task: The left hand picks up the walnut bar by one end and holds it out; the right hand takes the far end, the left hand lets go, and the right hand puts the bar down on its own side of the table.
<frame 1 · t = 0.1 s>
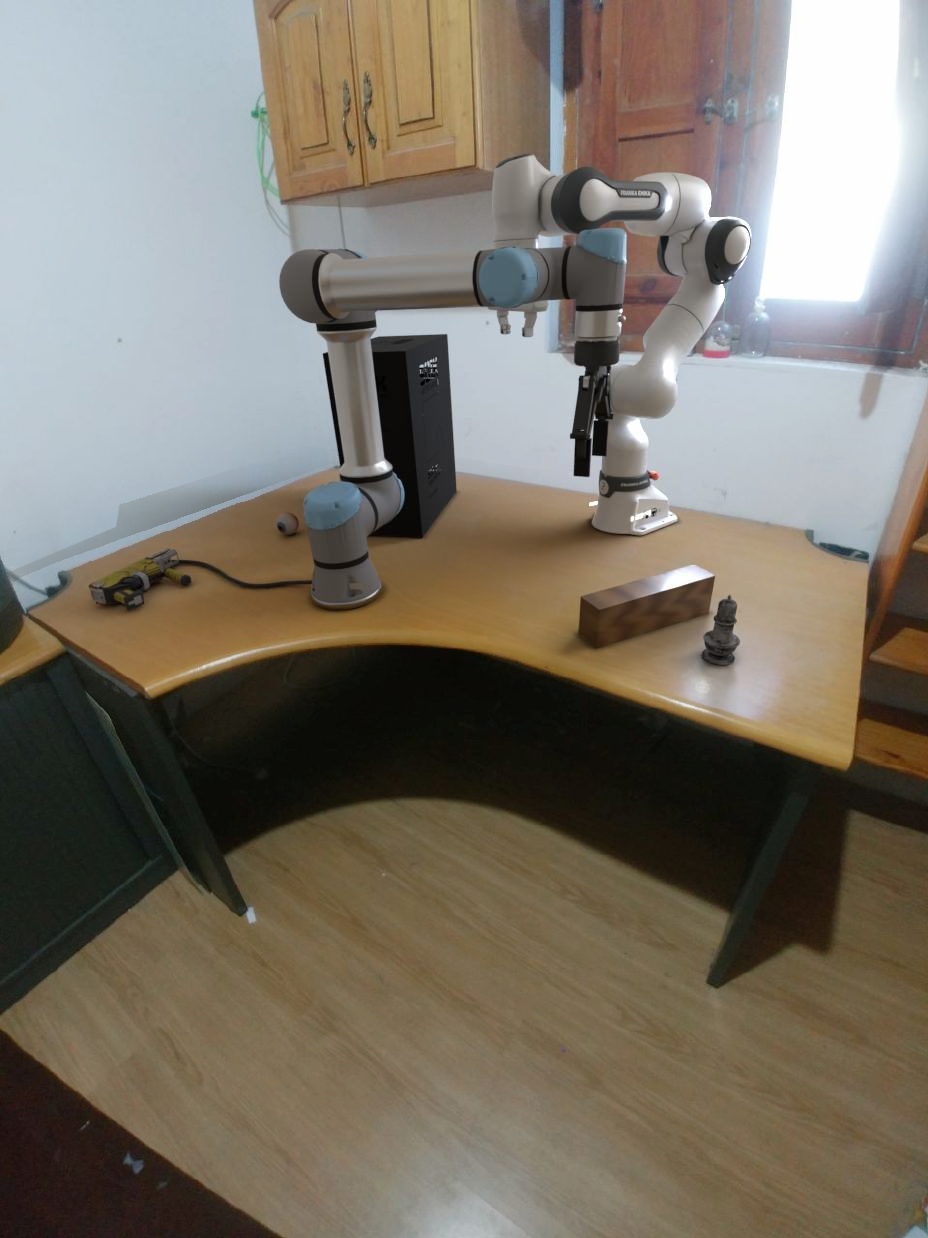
left hand: (590, 465, 111), 28 cm above the table, tool pointing down, fingers open, 13 cm apart
right hand: (516, 335, 125), 48 cm above the table, tool pointing down, fingers open, 8 cm apart
eyeball: (289, 534, 165), on the table
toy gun: (157, 587, 140), on the table
bar: (644, 623, 115), on the table
black computer tower: (407, 511, 176), on the table
dark grey tiered figure: (717, 657, 104), on the table
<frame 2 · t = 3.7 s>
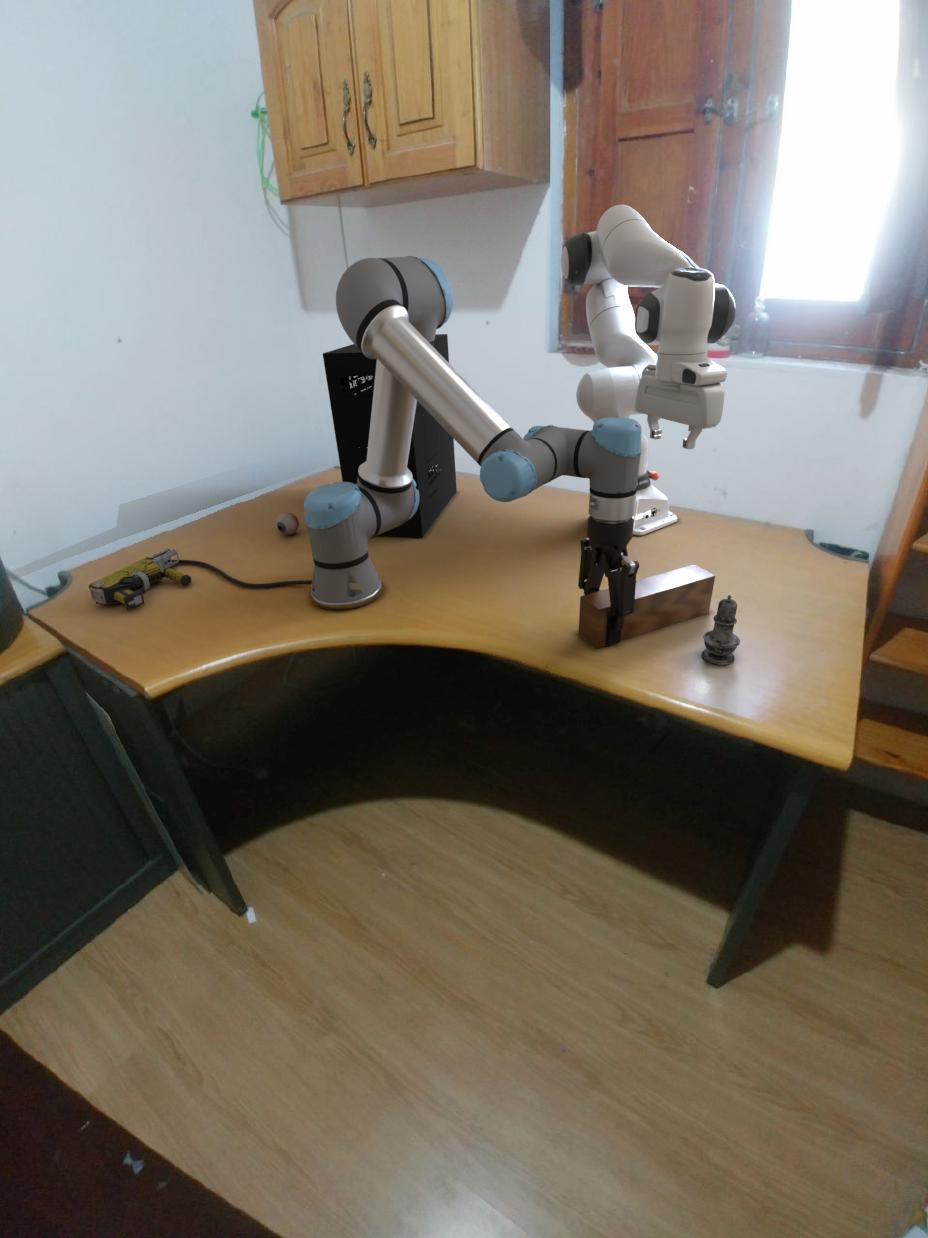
left hand: (602, 634, 112), 0 cm above the table, tool pointing down, fingers closed on bar, 6 cm apart
right hand: (671, 443, 120), 28 cm above the table, tool pointing down, fingers open, 8 cm apart
bar: (644, 623, 115), on the table, touching left hand
everything else where it was.
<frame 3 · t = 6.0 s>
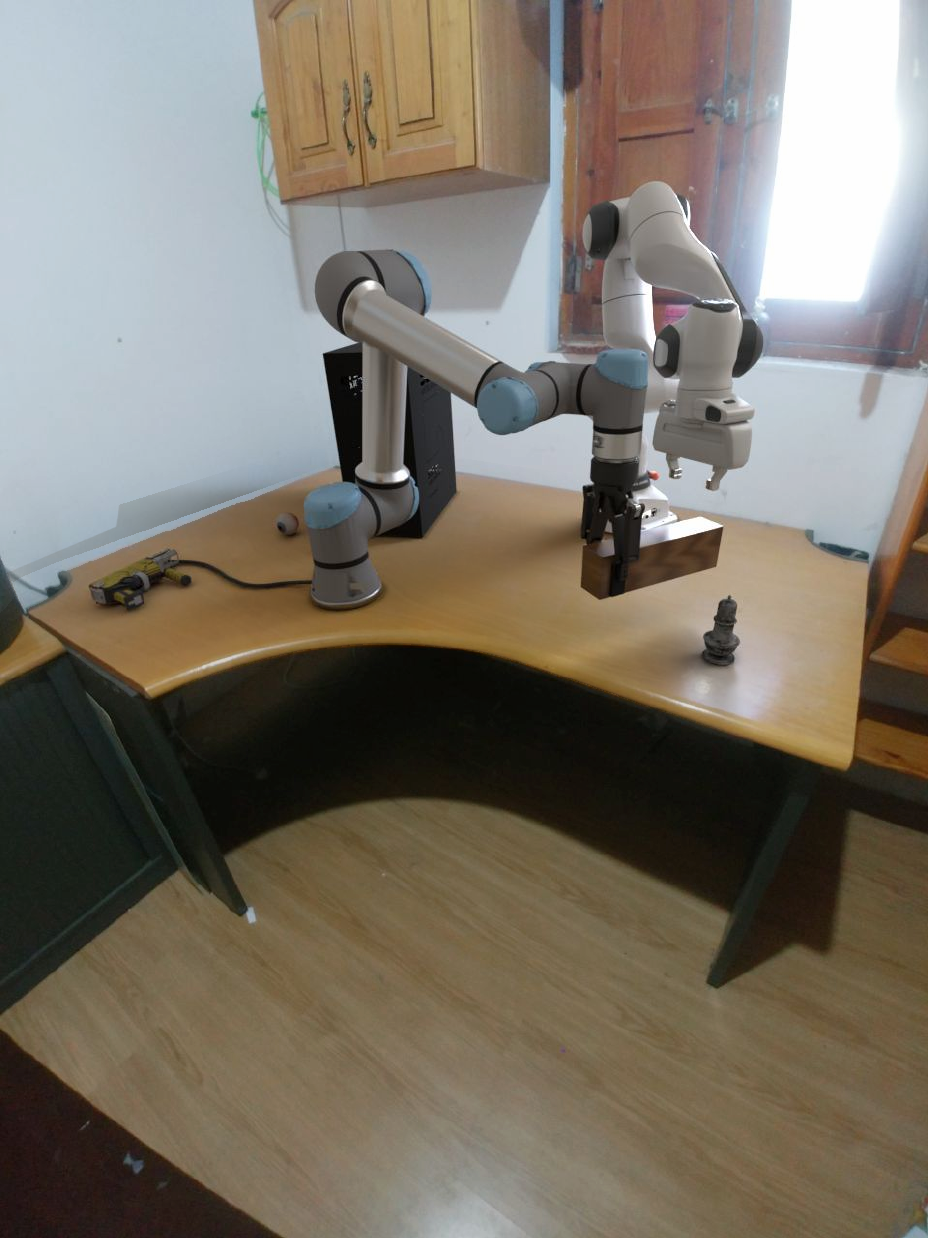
left hand: (605, 586, 107), 10 cm above the table, tool pointing down, fingers closed on bar, 6 cm apart
right hand: (692, 483, 111), 24 cm above the table, tool pointing down, fingers open, 8 cm apart
bar: (649, 576, 110), point 10 cm above the table, touching left hand
everything else where it was.
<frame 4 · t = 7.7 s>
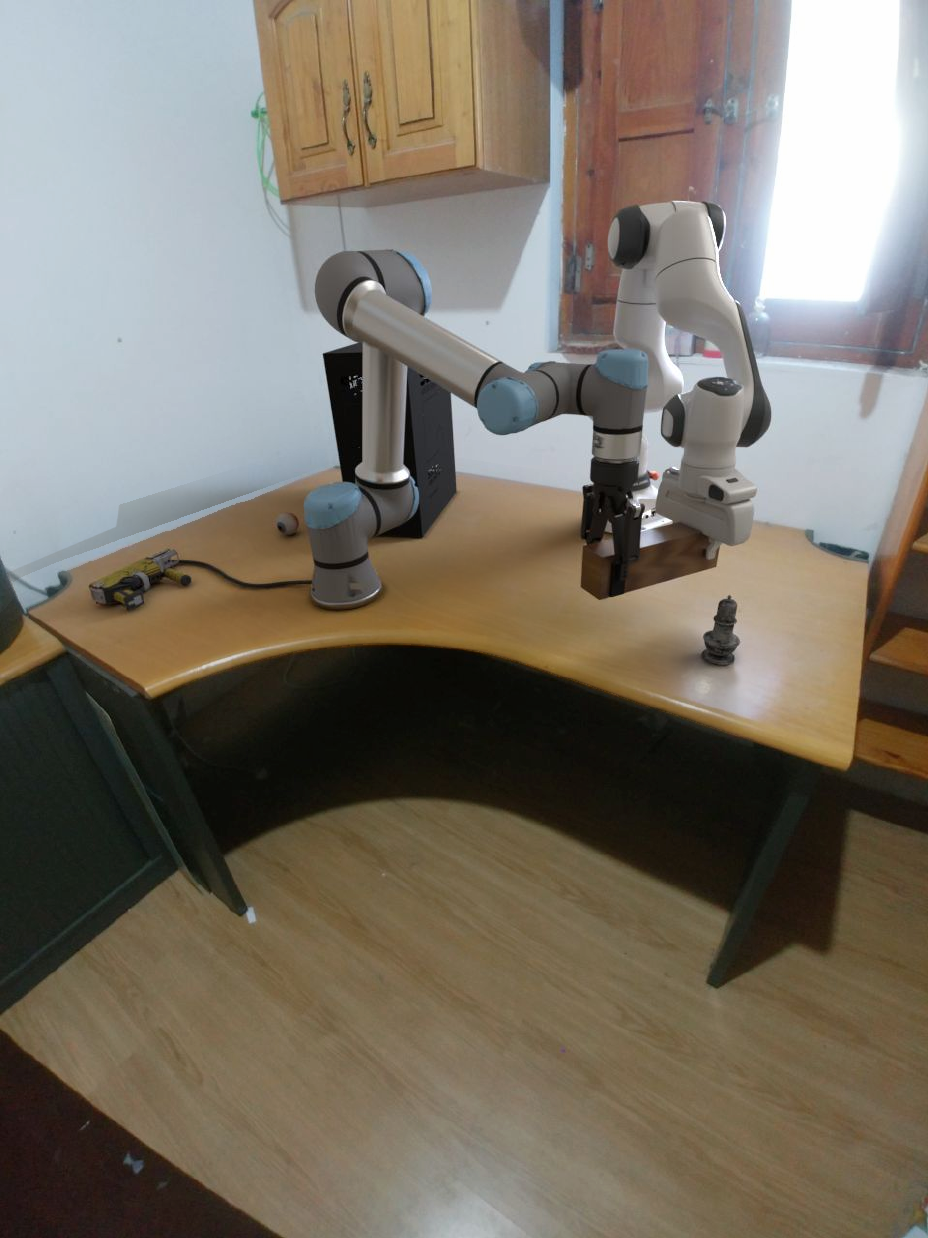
left hand: (605, 587, 107), 10 cm above the table, tool pointing down, fingers closed on bar, 6 cm apart
right hand: (694, 551, 112), 13 cm above the table, tool pointing down, fingers closed on bar, 6 cm apart
bar: (649, 576, 110), point 10 cm above the table, touching right hand, left hand
everything else where it was.
when the left hand's fingers open (10 cm above the table, at t = 8.7 s): bar stays where it is, held by the right hand.
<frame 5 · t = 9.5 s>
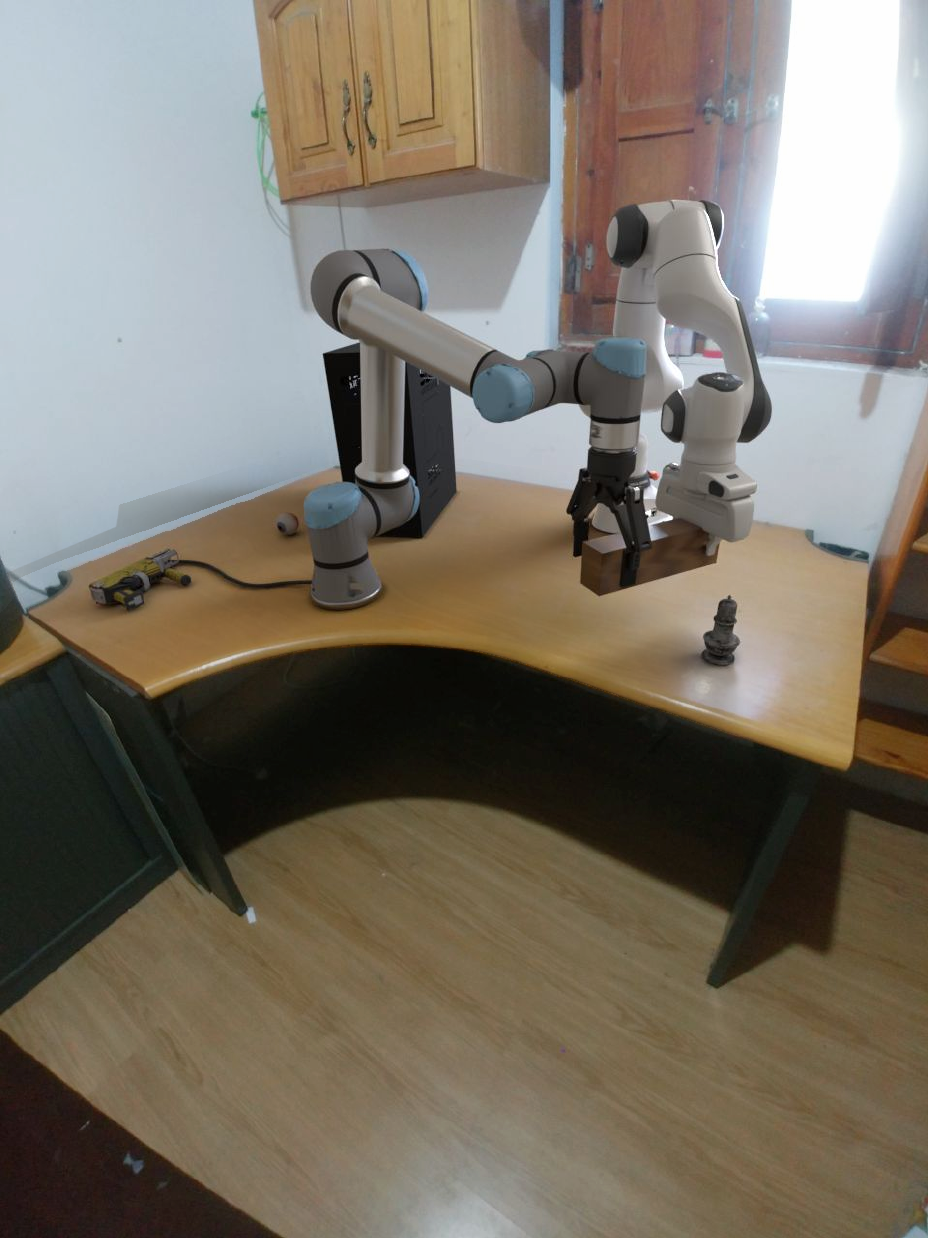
left hand: (602, 569, 105), 14 cm above the table, tool pointing down, fingers open, 13 cm apart
right hand: (694, 547, 112), 13 cm above the table, tool pointing down, fingers closed on bar, 6 cm apart
bar: (649, 572, 110), point 11 cm above the table, touching right hand
everything else where it was.
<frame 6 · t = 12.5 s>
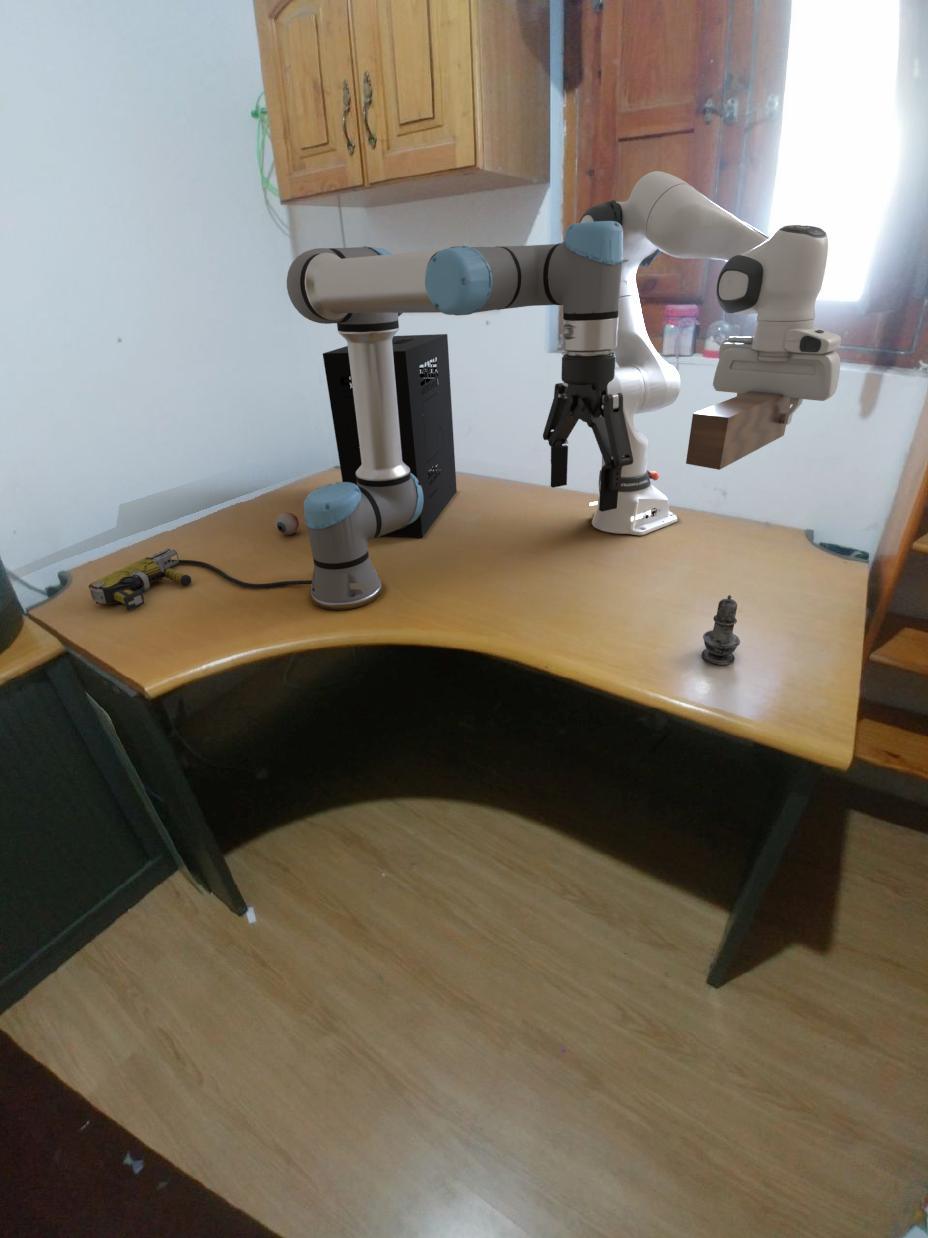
left hand: (581, 497, 96), 28 cm above the table, tool pointing down, fingers open, 13 cm apart
right hand: (764, 421, 110), 34 cm above the table, tool pointing down, fingers closed on bar, 6 cm apart
bar: (737, 448, 105), point 31 cm above the table, touching right hand
everything else where it was.
when the right hand's fingers open (4 cm above the table, at t = 17.4 s): bar stays where it is, on the table.
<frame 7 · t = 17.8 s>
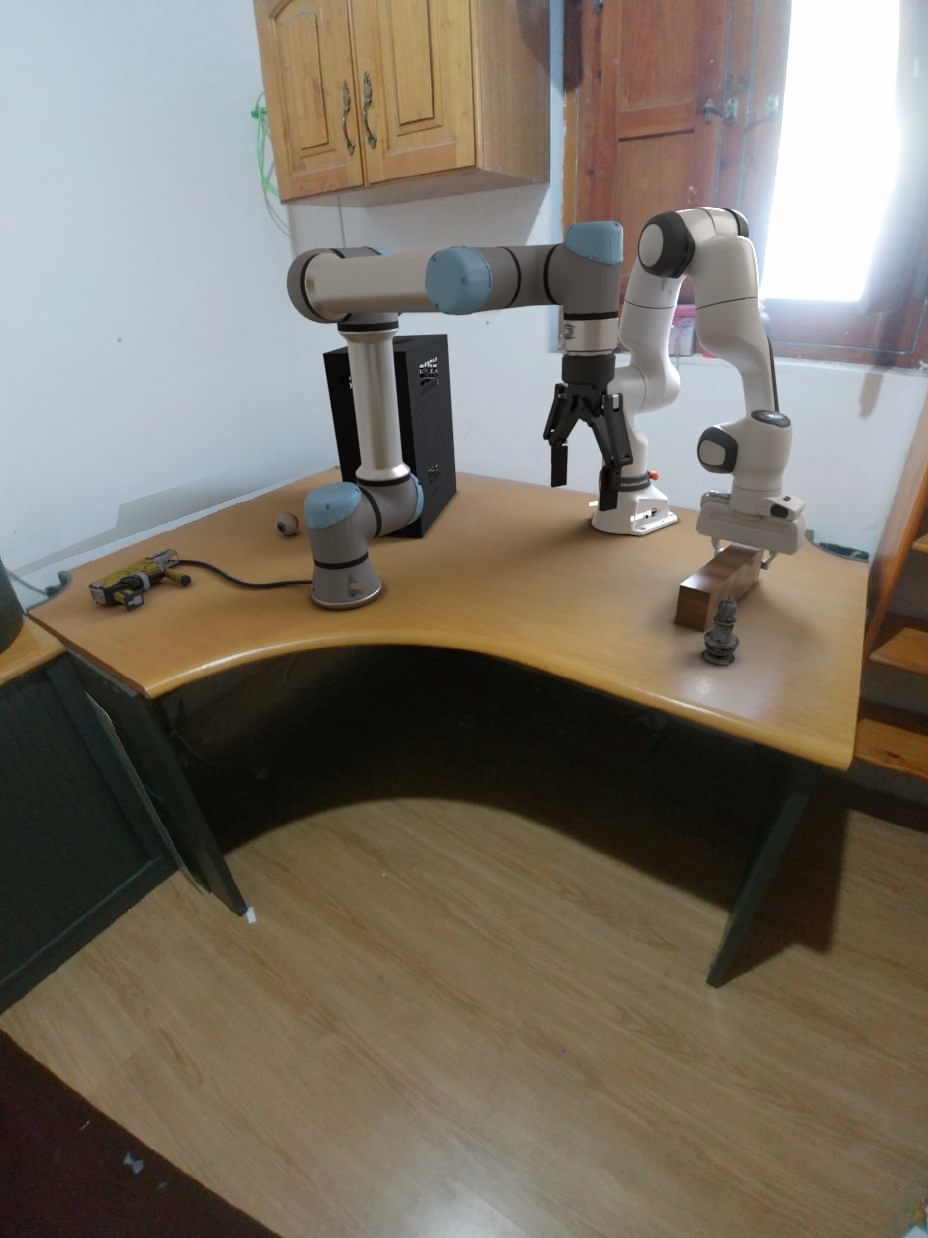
left hand: (581, 497, 96), 28 cm above the table, tool pointing down, fingers open, 13 cm apart
right hand: (741, 562, 125), 5 cm above the table, tool pointing down, fingers open, 8 cm apart
bar: (718, 600, 121), on the table
everything else where it was.
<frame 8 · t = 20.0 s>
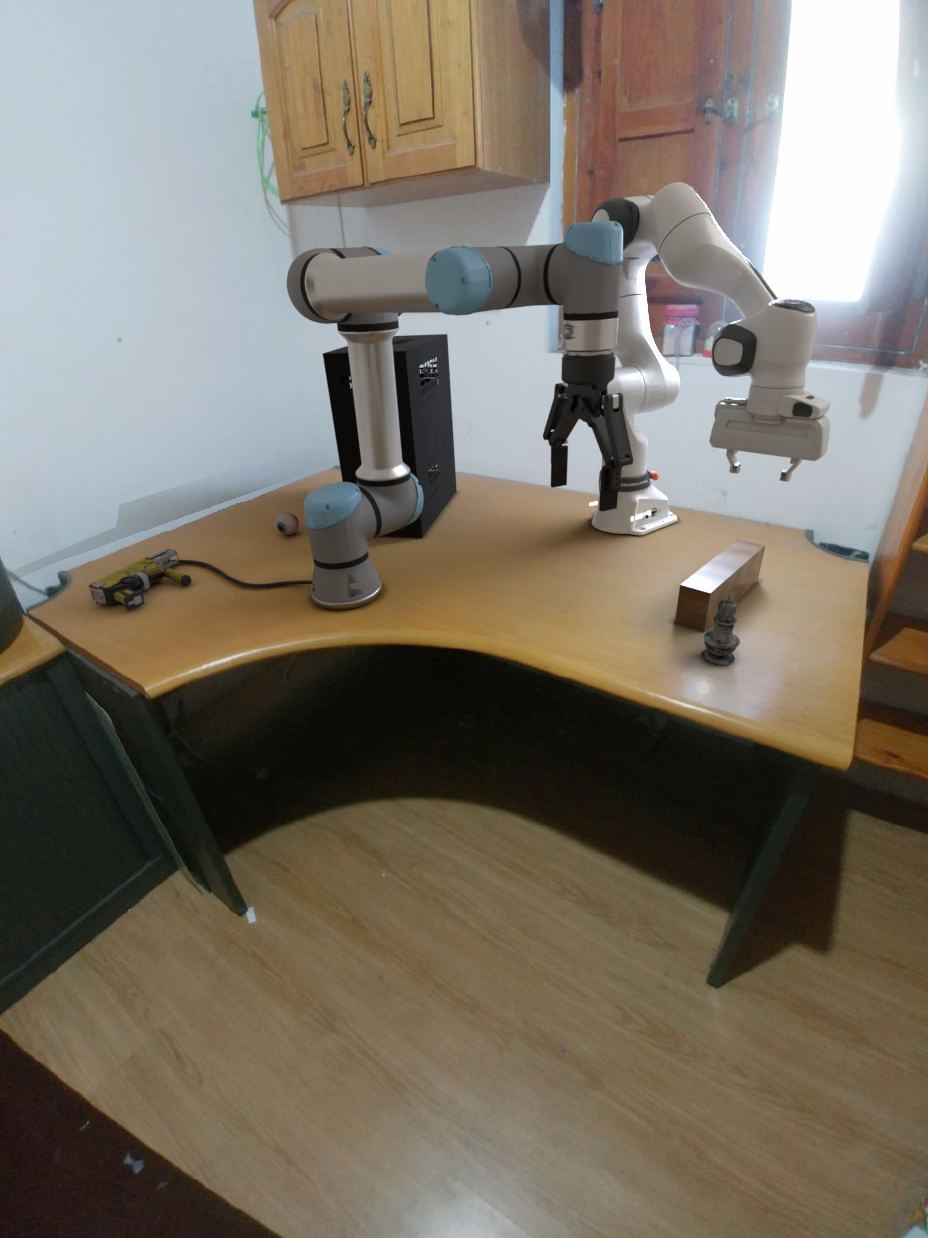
left hand: (581, 497, 96), 28 cm above the table, tool pointing down, fingers open, 13 cm apart
right hand: (759, 476, 116), 23 cm above the table, tool pointing down, fingers open, 8 cm apart
nothing on the table moved.
at the end: bar inside the target area (9.7 cm from its centre), on the table; the left hand is holding nothing; the right hand is holding nothing; bar at rest at the end (0.0 cm/s) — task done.
